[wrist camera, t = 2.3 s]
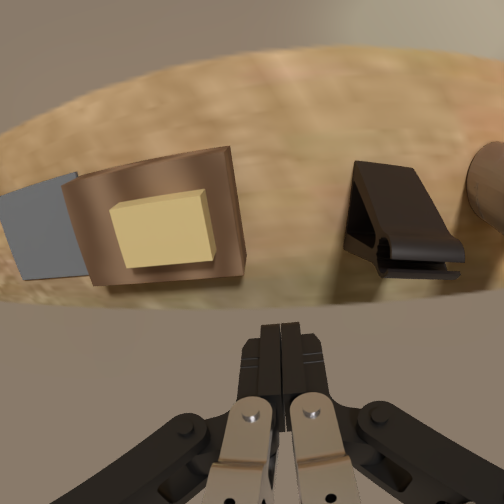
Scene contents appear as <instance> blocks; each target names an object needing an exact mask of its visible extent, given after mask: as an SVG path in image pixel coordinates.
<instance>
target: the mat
mask: <svg viewBox="0 0 504 504" xmlns="http://www.w3.org/2000/svg"><path fill="white" fill-rule="evenodd" d="M77 177H78V174H77V172H74V173H70V174H67V175H63V176H60V177H56V178H53V179H50V180H47V181H43V182H40V183H37V184H34V185H31V186H28V187H25V188H22V189H19V190H16V191H13V192H11V193H8V194H5V195H2V196H0V220H1V223H2V226H3V229H4V232H5V235H6V238H7V241H8V244H9V246H10V249H11V252H12V254H13V257H14V260H15V262H16V265H17V267H18V270H19V272H20V274H21V277H22V279H23V280H29V279H42V278H55V277H68V276H80V275H89V273H88V271H87V268H86V265H85V263H84V260H83V257H82V254H81V251H80V248H79V245H78V242H77V239H76V236H75V233H74V230H73V227H72V224H71V220H70V217H69V214H68V210H67V207H66V203H65V200H64V196H63V192H62V189H61V185H63V184H65V183H67V182H69V181H71V180H73V179H75V178H77Z"/></svg>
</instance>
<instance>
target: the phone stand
mask: <svg viewBox="0 0 504 504" xmlns="http://www.w3.org/2000/svg"><path fill="white" fill-rule="evenodd" d="M343 248H344V250H345V251H348V252H350V253H352V254H354V255H357V256H359V257H361V258H363V259H366V260H368V261H370V262H372V263H373V264H374V265H375V267H376V269H377V271H378V274H379V276H380V277H381V278H403V279H443V280H455V279H457V278H458V277H459V276H460V275H461V274H460V271H447V268H446V264H445V262H460V263H465V252H464V248H463V245H462V243H461V242H460V241H459V240H458V239H456V238H454V237H453V236H452V235H451V234H450V233H449V231H448V230H447V228H446V226H445V224H444V222H443V220H442V218H441V216H440V214H439V212H438V210H437V209H436V207H435V205H434V203H433V201H432V199H431V198H430V196H429V194H428V192H427V191H426V189H425V187H424V186H423V184H422V182H421V180H420V179H419V177H418V175H417V174H416V172H415V171H414V169H413V168H409V167H402V166H395V165H388V164H380V163H372V162H364V161H355V162H354V171H353V180H352V188H351V196H350V207H349V211H348V219H347V226H346V232H345V239H344V245H343Z"/></svg>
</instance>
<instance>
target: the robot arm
mask: <svg viewBox="0 0 504 504" xmlns="http://www.w3.org/2000/svg"><path fill="white" fill-rule="evenodd" d="M467 194H468V199H469V202H470V205H471V207H472V209H473V211H474V212H475V213H476V214H477V215H478V216H479V217H480V218H482V219H483V220H484V221H486V222H487V223H488V224H490V225H491V226H493V227H494V228H495V229H497V230H498V231H499V232H500V233H502V234H503V235H504V143H502V142H491V143H489V144H487V145H485V146H484V147H483V148H481V149H480V150H479V152H478V153H477V154H476V155H475V157H474V159H473V161H472V163H471V166H470V169H469V172H468V177H467ZM281 339H282V341H281ZM240 367H241V369H240V375H239V385H238V394H237V400H236V403H234V404H233V406H232V407H231V409H230V410H229V411H228V412H226V413H225V414H223V415H220V416H218V417H214V418H210V419H206V420H204V419H203V418H201V417H200V416H199V415H196V414H193V413H184V414H180V415H178V416H175V417H174V418H172V419H171V420H170V421H169V422H167V423H166V424H165V425H164V426H162V427H161V428H160V429H158V430H157V431H155V432H154V433H153V434H152V435H150V436H149V437H147V438H146V439H145V440H143V441H142V442H141V443H139V444H138V445H137V446H136V447H134V448H133V449H131V450H130V451H128V452H127V453H126V454H124V455H123V456H121V457H120V458H119V459H117V460H116V461H114V462H113V463H111V464H110V465H108V466H107V467H106V468H104V469H103V470H101V471H100V472H98V473H97V474H95V475H94V476H92V477H91V478H89V479H88V480H86V481H85V482H83V483H82V484H80V485H79V486H77V487H76V488H74V489H72V490H71V491H69V492H68V493H66V494H65V495H63V496H61V497H60V498H58V499H57V500H55V501H53V502H52V503H50V504H185V503H187V502H188V501H189V500H190V499H192V498H193V497H194V496H195V495H196V494H198V493H199V492H200V491H201V490H202V489H204V488H205V487H206V488H205V492H204V496H203V501H202V504H274V488H275V480H276V469H277V459H278V447H279V432H285V416H286V426H287V431H292V442H293V453H294V461H295V469H296V476H297V485H298V494H299V504H361V501H360V496H359V492H358V488H357V483H356V479H355V475H354V471H353V467H354V468H355V469H357V470H358V471H359V472H361V473H362V474H363V475H365V476H366V477H368V478H369V479H370V480H371V481H373V482H374V483H375V484H377V485H378V486H379V487H381V488H382V489H384V490H385V491H387V492H388V493H389V494H391V495H392V496H393V497H395V498H397V499H398V500H399V501H401V502H402V503H404V504H504V470H503V469H501V468H499V467H498V466H496V465H494V464H492V463H490V462H489V461H487V460H485V459H483V458H481V457H480V456H478V455H476V454H474V453H472V452H471V451H469V450H467V449H466V448H464V447H462V446H460V445H459V444H457V443H455V442H453V441H452V440H450V439H448V438H447V437H445V436H443V435H442V434H440V433H438V432H436V431H435V430H433V429H432V428H430V427H428V426H427V425H425V424H423V423H422V422H420V421H419V420H417V419H415V418H414V417H412V416H410V415H409V414H407V413H405V412H404V411H402V410H401V409H399V408H398V407H396V406H395V405H393V404H391V403H389V402H385V401H374V402H371V403H368V404H367V405H365V406H364V407H363V408H362V409H358V408H350V407H345V406H342V405H340V404H338V403H337V402H335V401H334V400H333V399H332V397H331V396H330V394H329V389H328V383H327V377H326V371H325V365H324V359H323V354H322V347H321V342H320V340H319V339H318V338H317V337H316V336H315V334H313V333H312V334H302V335H301V333H300V324H299V322H292V323H282V324H281V332H280V324H270V325H261V336H260V338H254V339H249V340H248V341H247V342H246V344H245V345H244V347H243V349H242V357H241V366H240Z"/></svg>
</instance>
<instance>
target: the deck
mask: <svg viewBox="0 0 504 504" xmlns="http://www.w3.org/2000/svg"><path fill="white" fill-rule="evenodd" d="M61 189H62V192H63V196H64V200H65V203H66V207H67V210H68V214H69V217H70V220H71V224H72V227H73V230H74V233H75V236H76V239H77V242H78V245H79V248H80V251H81V254H82V257H83V260H84V263H85V265H86V268H87V271H88V273H89V276H90V279H91V281H92V284H93V286H106V285H121V284H136V283H151V282H165V281H178V280H191V279H204V278H217V277H229V276H241V275H244V269H245V263H246V256H247V254H246V248H245V241H244V235H243V228H242V222H241V215H240V209H239V202H238V196H237V189H236V183H235V176H234V169H233V163H232V156H231V149H230V146H224V147H218V148H211V149H205V150H198V151H192V152H187V153H181V154H175V155H170V156H165V157H159V158H154V159H149V160H145V161H140V162H135V163H131V164H126V165H122V166H117V167H113V168H109V169H105V170H101V171H97V172H93V173H89V174H85V175H81V176H79V177H77V178H75V179H73V180H71V181H69V182H67V183H65V184H63V185H61ZM200 189H205V191H206V197H207V202H208V208H209V213H210V218H211V224H212V229H213V234H214V239H215V244H216V249H217V250H216V253H215V256H214V259H213V261H203V262H192V263H181V264H170V265H159V266H147V267H136V268H126V265H125V262H124V259H123V256H122V253H121V249H120V246H119V243H118V240H117V236H116V233H115V229H114V226H113V222H112V219H111V215H110V212H109V210H110V209H111V208H112V207H114V206H115V205H116V204H118V203H119V202H125V201H131V200H136V199H142V198H148V197H154V196H160V195H166V194H173V193H179V192H186V191H193V190H200Z"/></svg>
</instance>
